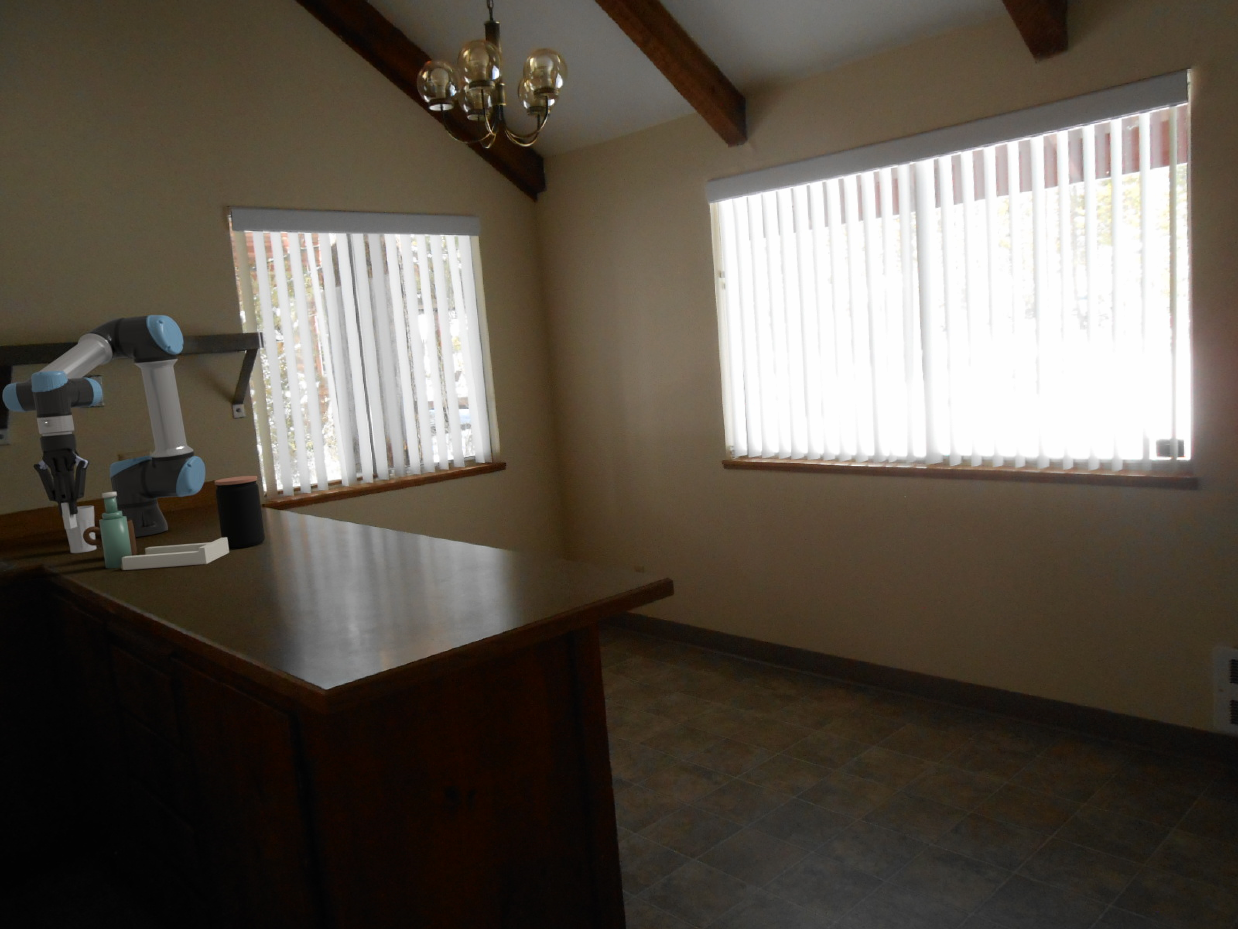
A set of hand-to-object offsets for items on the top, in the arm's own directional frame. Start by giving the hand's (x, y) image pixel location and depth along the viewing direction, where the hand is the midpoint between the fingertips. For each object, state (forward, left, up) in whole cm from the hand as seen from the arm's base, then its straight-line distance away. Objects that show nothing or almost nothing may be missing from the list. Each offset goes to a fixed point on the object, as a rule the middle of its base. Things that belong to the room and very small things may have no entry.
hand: (71, 527), depth 231 cm
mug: (-11, +3, -11) cm, 16 cm away
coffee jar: (-16, +36, -11) cm, 41 cm away
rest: (0, +25, -10) cm, 27 cm away
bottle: (0, +11, -11) cm, 15 cm away
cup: (-27, -14, -11) cm, 32 cm away
